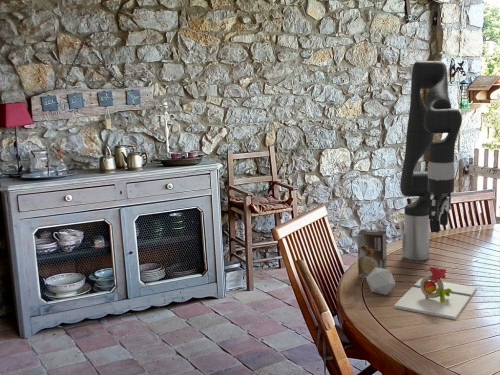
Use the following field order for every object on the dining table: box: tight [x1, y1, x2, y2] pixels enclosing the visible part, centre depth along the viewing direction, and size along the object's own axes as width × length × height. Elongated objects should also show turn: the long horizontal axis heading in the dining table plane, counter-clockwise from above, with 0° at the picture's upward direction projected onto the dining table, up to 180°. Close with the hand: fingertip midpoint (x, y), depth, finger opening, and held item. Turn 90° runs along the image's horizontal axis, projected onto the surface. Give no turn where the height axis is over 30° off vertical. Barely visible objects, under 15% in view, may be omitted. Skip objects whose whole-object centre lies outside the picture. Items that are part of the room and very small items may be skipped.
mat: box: [393, 278, 478, 320], centre depth 173 cm, size 18×26×1 cm
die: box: [365, 267, 396, 296], centre depth 179 cm, size 8×9×10 cm
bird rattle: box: [420, 266, 452, 303], centre depth 169 cm, size 6×11×9 cm
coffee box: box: [357, 228, 388, 279], centre depth 193 cm, size 9×6×16 cm
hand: (439, 228), depth 169 cm, fingers open, 8 cm apart
